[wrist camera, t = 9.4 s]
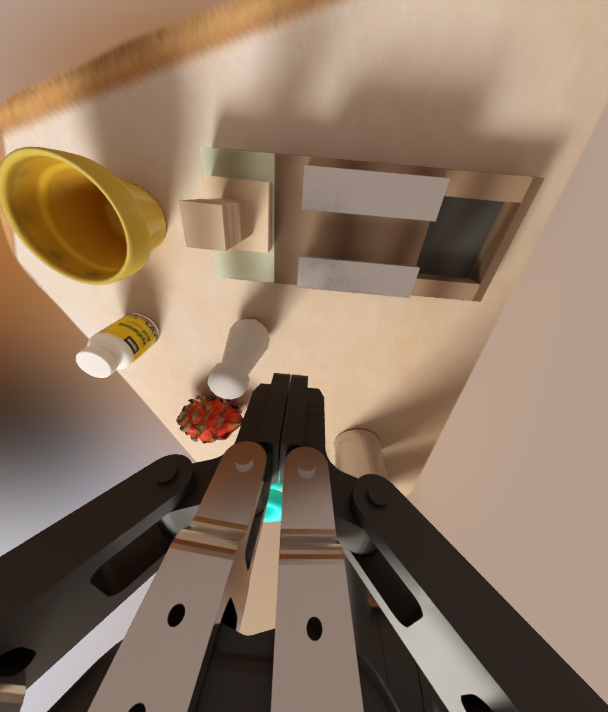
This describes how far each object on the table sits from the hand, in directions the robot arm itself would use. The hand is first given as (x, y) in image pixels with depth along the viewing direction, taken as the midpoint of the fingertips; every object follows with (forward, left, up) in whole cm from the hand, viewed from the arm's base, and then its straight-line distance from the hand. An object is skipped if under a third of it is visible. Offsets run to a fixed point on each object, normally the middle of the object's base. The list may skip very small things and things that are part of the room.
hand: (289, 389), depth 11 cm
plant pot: (+16, +13, -24) cm, 32 cm away
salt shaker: (-3, +12, -24) cm, 27 cm away
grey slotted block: (0, -7, -21) cm, 22 cm away
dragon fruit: (-11, +28, -24) cm, 39 cm away
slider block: (+8, +2, -21) cm, 22 cm away
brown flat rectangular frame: (0, -7, -24) cm, 24 cm away
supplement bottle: (+7, +26, -24) cm, 36 cm away
